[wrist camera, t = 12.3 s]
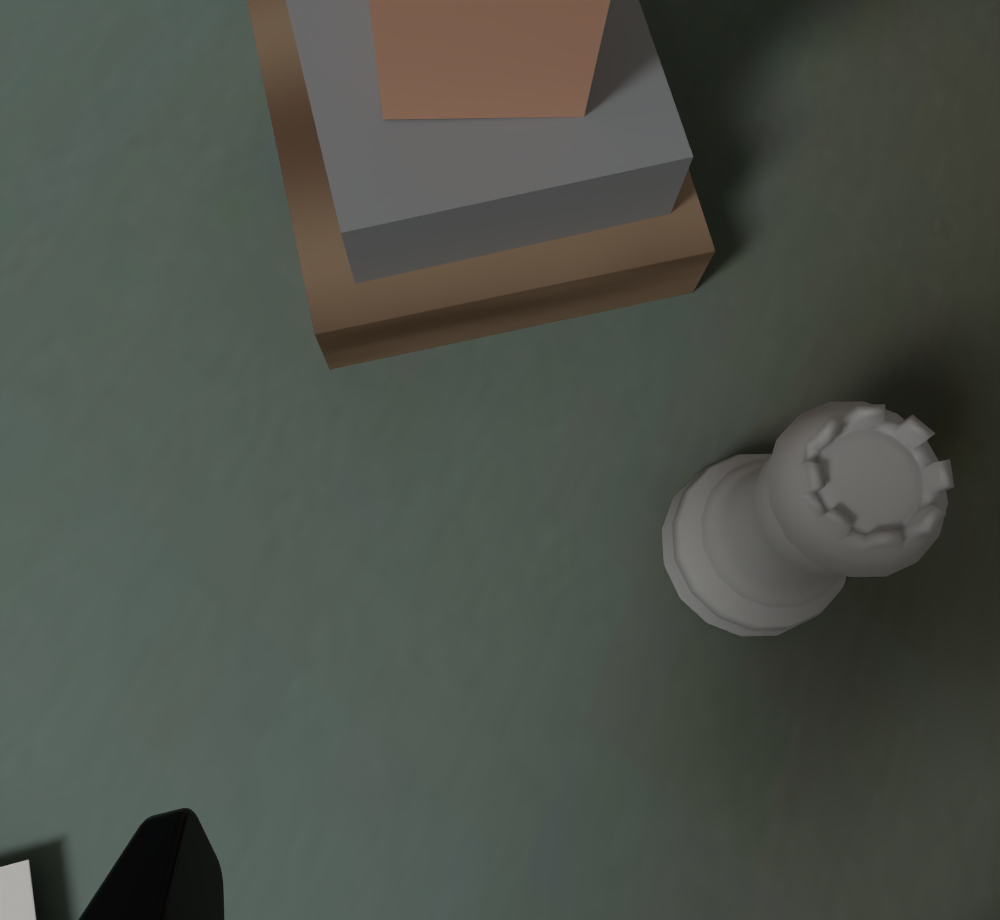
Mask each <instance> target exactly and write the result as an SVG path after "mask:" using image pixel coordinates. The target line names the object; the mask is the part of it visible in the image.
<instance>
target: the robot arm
mask: <svg viewBox="0 0 1000 920" xmlns="http://www.w3.org/2000/svg"><path fill="white" fill-rule="evenodd" d="M79 920H224V892H223V878H222V872H221V867H220V864H219V861H218V859H217V856H216V854H215V852H214V850H213V848H212V846H211V844H210V842H209V840H208V838H207V836H206V834H205V832H204V830H203V827H202V825H201V823H200V821H199V819H198V817H197V816H196V814H195V813H194V812H193V811H192V810H191V809H189V808H182V809H178V810H174V811H170V812H166V813H162V814H158V815H154V816H151V817H149V818H147V819H146V820H145V821H144V822H143V823H142V824H141V825H140V826H139V828H138V829H137V831H136V833H135V834H134V836H133V837H132V839H131V840H130V842H129V843H128V845H127V846H126V848H125V849H124V851H123V852H122V854H121V855H120V857H119V859H118V860H117V862H116V863H115V865H114V866H113V868H112V869H111V871H110V872H109V874H108V875H107V877H106V878H105V880H104V881H103V883H102V885H101V886H100V888H99V889H98V891H97V892H96V894H95V895H94V897H93V898H92V900H91V901H90V903H89V904H88V906H87V908H86V909H85V911H84V912H83V914H82V915H81V917H80V918H79Z"/></svg>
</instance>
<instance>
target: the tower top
mask: <svg viewBox="0 0 1000 920" xmlns="http://www.w3.org/2000/svg"><path fill="white" fill-rule="evenodd" d="M286 4H287V8H288V12H289V16H290V21H291V25H292V29H293V33H294V38H295V42H296V46H297V50H298V54H299V59H300V63H301V67H302V71H303V75H304V80H305V84H306V88H307V92H308V96H309V101H310V105H311V109H312V113H313V118H314V122H315V126H316V130H317V134H318V139H319V143H320V147H321V151H322V155H323V160H324V164H325V168H326V172H327V177H328V181H329V185H330V189H331V193H332V198H333V202H334V206H335V210H336V214H337V219H338V223H339V227H340V231H341V235H342V239H343V242H344V246H345V249H346V253H347V257H348V260H349V264H350V267H351V271H352V274H353V278H354V281H355V284H356V283H361V282H365V281H370V280H374V279H379V278H383V277H388V276H392V275H397V274H401V273H406V272H410V271H415V270H419V269H424V268H428V267H433V266H438V265H442V264H447V263H451V262H456V261H460V260H465V259H469V258H474V257H478V256H483V255H487V254H492V253H496V252H501V251H505V250H510V249H514V248H519V247H523V246H528V245H532V244H537V243H541V242H546V241H550V240H555V239H559V238H564V237H568V236H573V235H577V234H582V233H587V232H591V231H596V230H600V229H605V228H609V227H614V226H618V225H623V224H627V223H632V222H636V221H641V220H645V219H650V218H654V217H659V216H663V215H668V214H670V213H671V211H672V208H673V206H674V203H675V201H676V198H677V196H678V193H679V191H680V189H681V186H682V184H683V181H684V179H685V176H686V174H687V171H688V169H689V166H690V164H691V161H692V159H693V154H692V151H691V148H690V146H689V143H688V140H687V137H686V134H685V131H684V128H683V125H682V123H681V120H680V117H679V114H678V111H677V108H676V105H675V102H674V100H673V97H672V94H671V91H670V88H669V85H668V82H667V80H666V77H665V74H664V71H663V68H662V65H661V62H660V59H659V57H658V54H657V51H656V48H655V45H654V42H653V39H652V36H651V34H650V31H649V28H648V25H647V22H646V19H645V16H644V13H643V11H642V8H641V5H640V2H639V0H610V4H609V8H608V13H607V17H606V22H605V26H604V31H603V35H602V39H601V44H600V48H599V53H598V57H597V62H596V66H595V70H594V75H593V79H592V84H591V88H590V93H589V97H588V101H587V106H586V110H585V115H584V117H540V118H464V119H388V120H383V116H382V108H381V99H380V91H379V83H378V74H377V66H376V58H375V50H374V41H373V33H372V25H371V17H370V8H369V0H286Z"/></svg>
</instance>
